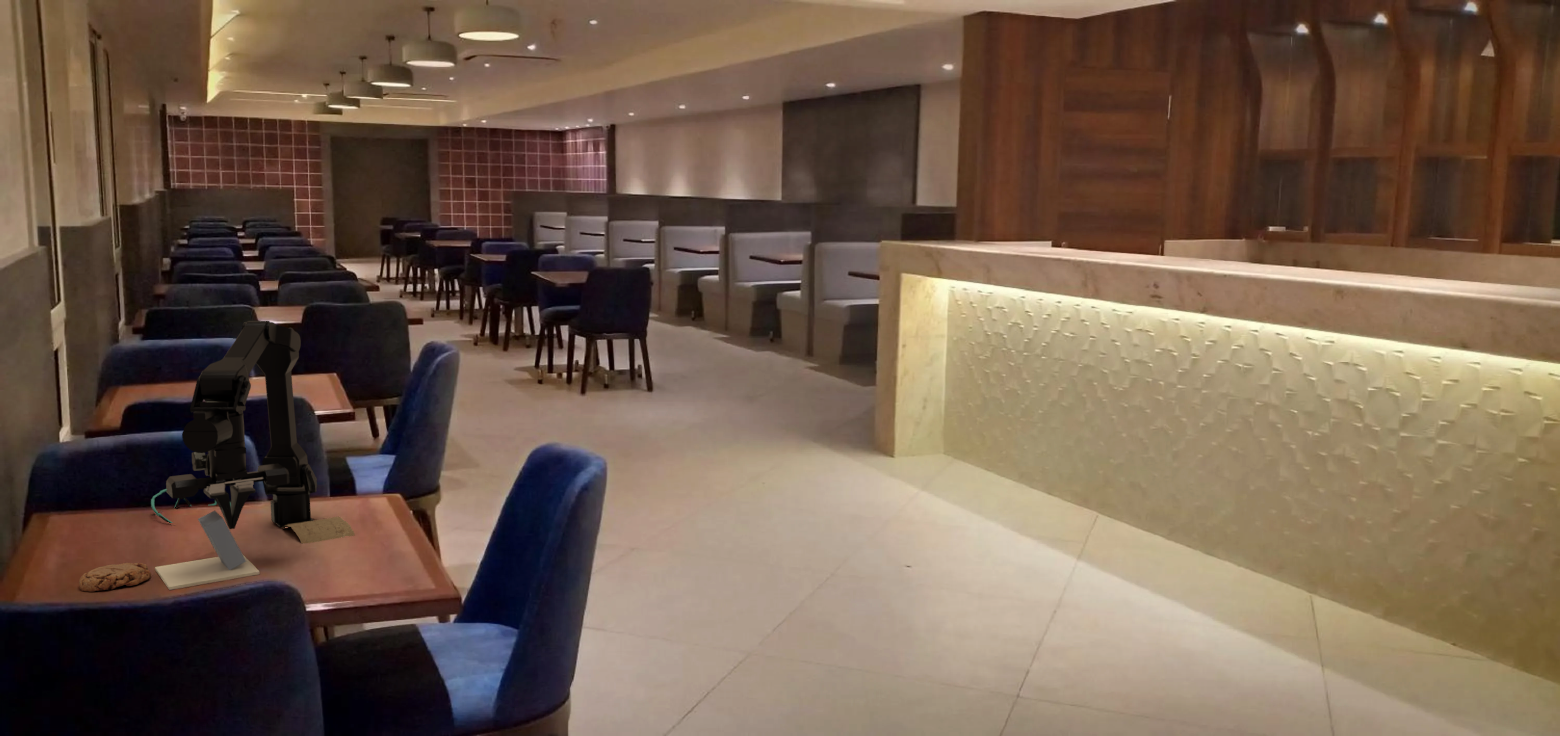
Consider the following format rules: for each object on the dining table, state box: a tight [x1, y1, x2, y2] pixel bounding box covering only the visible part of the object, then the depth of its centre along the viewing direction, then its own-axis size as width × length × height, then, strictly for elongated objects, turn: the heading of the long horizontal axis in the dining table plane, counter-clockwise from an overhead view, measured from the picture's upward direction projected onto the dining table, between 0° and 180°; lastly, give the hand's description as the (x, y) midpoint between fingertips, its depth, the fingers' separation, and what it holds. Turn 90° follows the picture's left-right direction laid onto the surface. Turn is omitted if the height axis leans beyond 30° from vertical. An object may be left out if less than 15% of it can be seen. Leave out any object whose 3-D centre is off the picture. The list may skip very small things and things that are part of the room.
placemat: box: [154, 554, 261, 591], centre depth 199 cm, size 14×13×1 cm
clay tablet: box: [281, 516, 355, 544], centre depth 224 cm, size 14×10×3 cm
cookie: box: [78, 562, 152, 593], centre depth 193 cm, size 10×11×3 cm
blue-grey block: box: [197, 510, 246, 570], centre depth 200 cm, size 3×6×9 cm, turn 38°
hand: (231, 528), depth 201 cm, fingers closed
